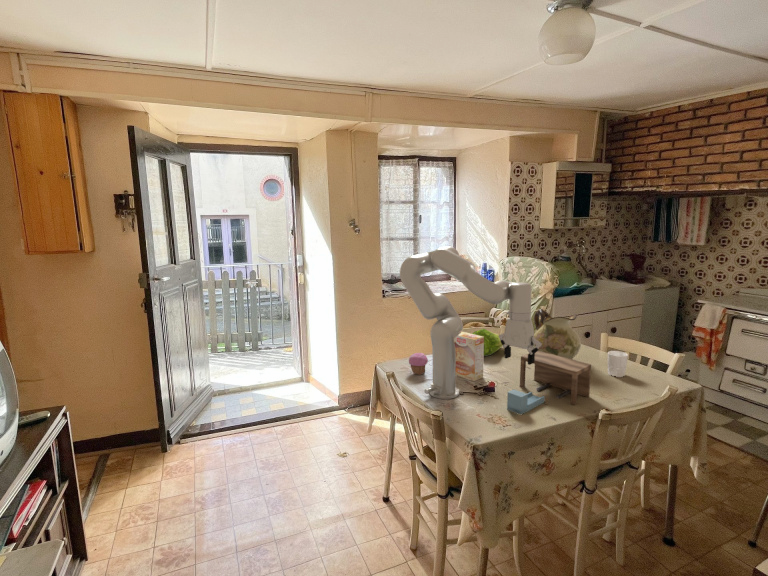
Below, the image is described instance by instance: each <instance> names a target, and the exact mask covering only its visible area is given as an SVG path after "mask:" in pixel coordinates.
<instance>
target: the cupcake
mask: <svg viewBox="0 0 768 576" xmlns="http://www.w3.org/2000/svg"><path fill="white" fill-rule="evenodd" d="M428 360H429V359H428V357H427V355H425V353H423V352H416V353H412V354H411V355H410V356H409V358H408V364H409V365H410V369H411V372H412V373H413V374H414V375H418V376H420V375H423V374H425V372H426V365H427V364H428V362H429V361H428Z"/></svg>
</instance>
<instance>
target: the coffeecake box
mask: <svg viewBox="0 0 768 576" xmlns="http://www.w3.org/2000/svg"><path fill="white" fill-rule="evenodd" d="M454 344H455V350H456V376H458V377H460V378H463V379H466V380H470V381H473V382H476V381H478V380H480V379H482V378H484V360H485V359H484V358H485V356H484V336H479V335H475V334H472V332H471V333H470V332H466V331H462V332H461V333H460V334H459V335H458V336H457V337H455V338H454Z"/></svg>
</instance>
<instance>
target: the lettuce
mask: <svg viewBox="0 0 768 576" xmlns="http://www.w3.org/2000/svg"><path fill="white" fill-rule="evenodd" d="M471 334H475V335H479V336H484V357H486V356H491V355H492V354H494V353H496V352H497V351H499V350H500V349H501V348H502V347H503V345H502V343H501V342H500V341H501V340H500V338H499V335H500V334H498V333H494V332H492V331H490V330H487V329H485V328H481V329H478V330H476V331H473V332H471Z"/></svg>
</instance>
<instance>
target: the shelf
mask: <svg viewBox="0 0 768 576" xmlns="http://www.w3.org/2000/svg"><path fill="white" fill-rule="evenodd" d="M528 354H529V353H526V354H524V355H521V356H520V367H519V368H520V373H519V387H520V388H525V387H526V367H527V363H528ZM526 362H527V363H526ZM532 365H534V370H533V371H534V373H533V375H534V376H533V380H534V381H536V382H539V383H541V384H542V385H540V386H539V387H537V388H536V391H537V392H541V391H543V390H544V389H546V388H548V387H551V386H552V387H554V388H559V389H561V390H564V391H562V392H560V393H559V394H557V395H556V398H557V399H561V398H562V397H564V396H567V395H568V394H570V395H571V396H570V405H572V404H574V405H573V406H576V405H577V401H578V400H577V399H578V395H579V396H583V397H586V398H590V393H591V391H590V389H591V379H592V377H591V375H592V364H590V363H587V362H584V361H583V362H582V361H579V360H575V359H568V358H564V357H560V356H556V355H552V354H549V353H545V352H541V351H537V352H536V353H535V361H534V363H533V364H532ZM575 404H576V405H575Z"/></svg>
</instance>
